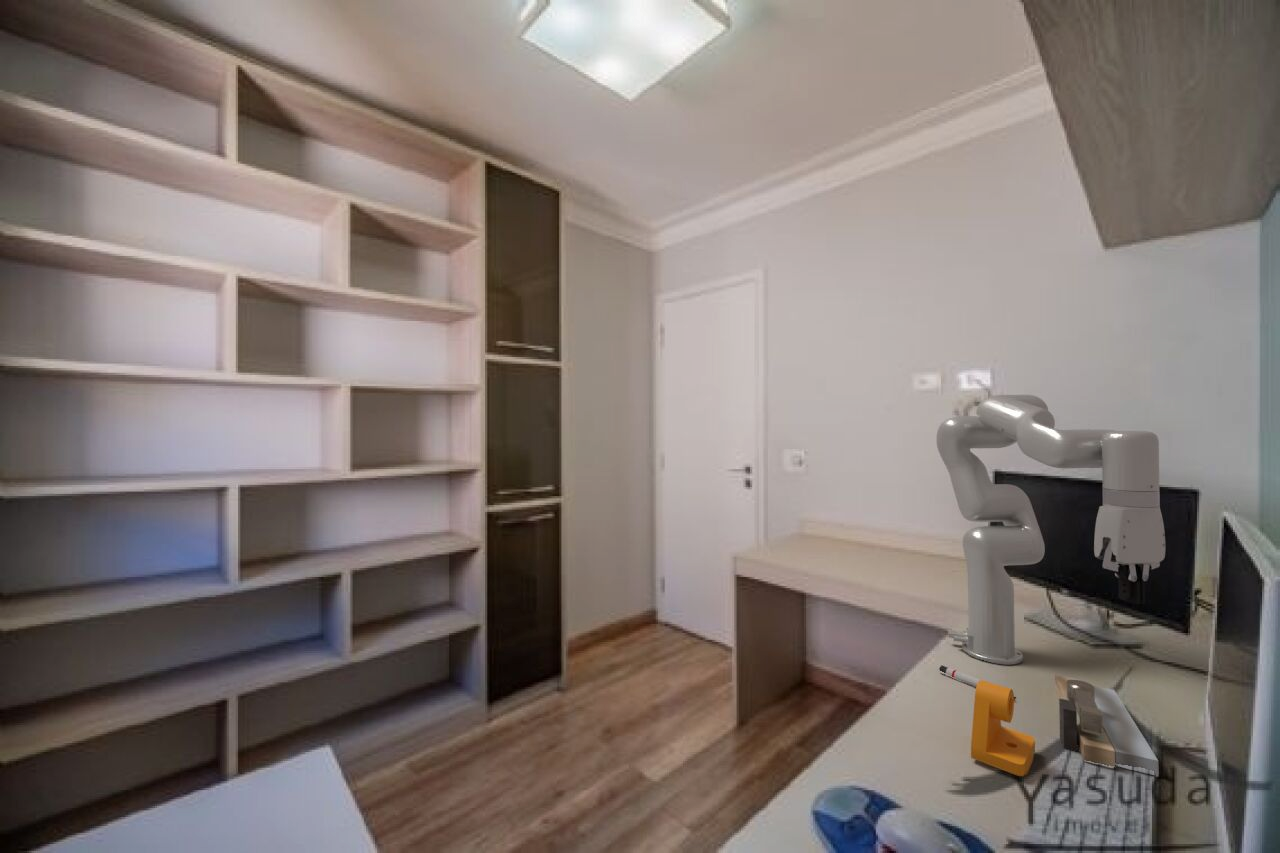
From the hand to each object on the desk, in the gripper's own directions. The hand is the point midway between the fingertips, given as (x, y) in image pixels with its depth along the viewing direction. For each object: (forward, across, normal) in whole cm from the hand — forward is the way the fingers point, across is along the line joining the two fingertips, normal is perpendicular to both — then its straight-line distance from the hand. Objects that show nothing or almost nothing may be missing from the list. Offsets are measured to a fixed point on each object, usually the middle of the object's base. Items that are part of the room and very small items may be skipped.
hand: (1131, 601), depth 94 cm
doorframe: (+25, +3, -5) cm, 26 cm away
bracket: (+25, +27, 0) cm, 37 cm away
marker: (+26, +12, -22) cm, 36 cm away
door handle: (+21, +8, -2) cm, 22 cm away
